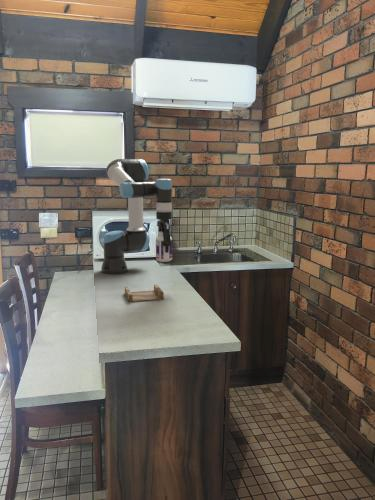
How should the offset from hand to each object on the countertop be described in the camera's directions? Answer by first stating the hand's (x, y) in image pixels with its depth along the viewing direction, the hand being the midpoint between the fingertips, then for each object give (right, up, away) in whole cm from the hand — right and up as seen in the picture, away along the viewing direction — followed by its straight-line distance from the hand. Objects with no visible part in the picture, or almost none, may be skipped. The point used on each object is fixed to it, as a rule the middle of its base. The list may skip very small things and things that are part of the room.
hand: (164, 256), depth 210 cm
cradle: (-9, -19, -8) cm, 23 cm away
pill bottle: (0, -2, 0) cm, 2 cm away
